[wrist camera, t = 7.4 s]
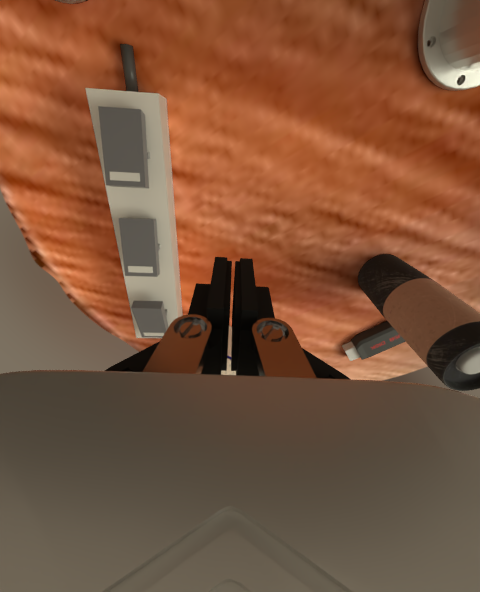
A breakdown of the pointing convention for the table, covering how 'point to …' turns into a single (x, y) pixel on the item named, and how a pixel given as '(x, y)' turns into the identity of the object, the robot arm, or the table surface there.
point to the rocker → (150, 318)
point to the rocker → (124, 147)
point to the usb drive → (373, 341)
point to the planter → (71, 1)
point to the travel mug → (426, 319)
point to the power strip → (145, 190)
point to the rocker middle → (139, 246)
